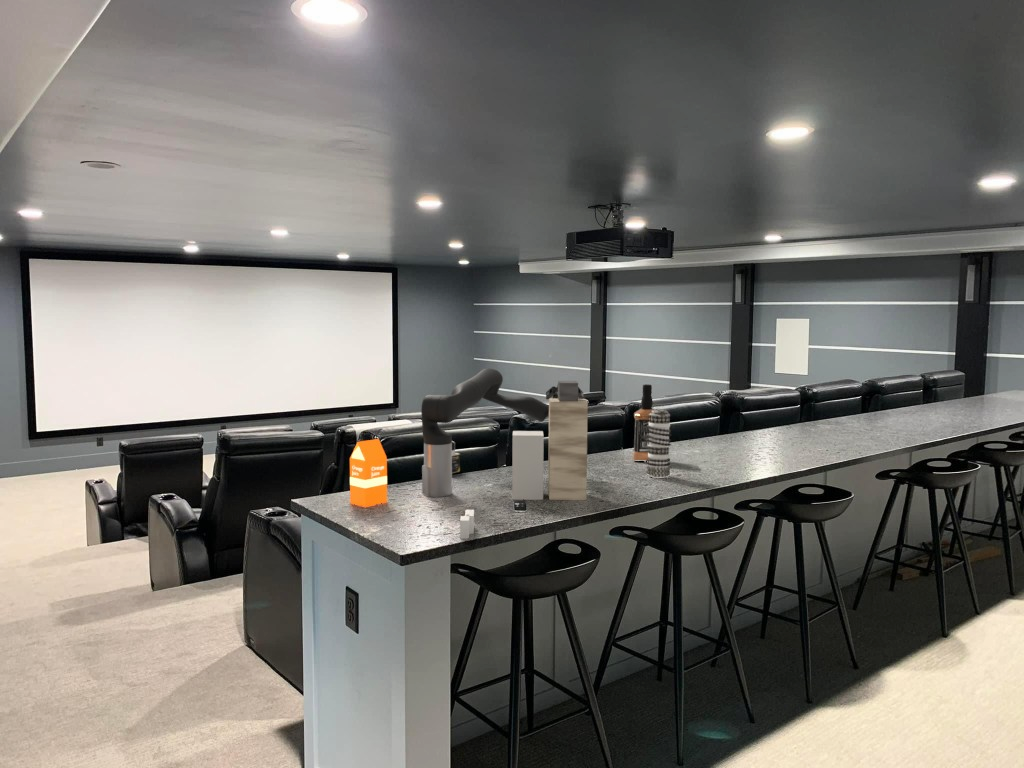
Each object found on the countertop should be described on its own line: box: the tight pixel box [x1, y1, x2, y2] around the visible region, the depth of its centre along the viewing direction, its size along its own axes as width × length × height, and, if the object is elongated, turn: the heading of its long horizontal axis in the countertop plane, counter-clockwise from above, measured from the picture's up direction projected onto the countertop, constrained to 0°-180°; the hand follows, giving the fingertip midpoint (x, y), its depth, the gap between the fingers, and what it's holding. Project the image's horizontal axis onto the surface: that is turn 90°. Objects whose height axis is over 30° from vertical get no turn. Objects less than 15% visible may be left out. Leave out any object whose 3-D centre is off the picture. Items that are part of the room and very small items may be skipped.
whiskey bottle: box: [632, 384, 654, 461], centre depth 307 cm, size 10×10×32 cm
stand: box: [547, 398, 589, 501], centre depth 241 cm, size 10×12×32 cm
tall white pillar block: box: [511, 430, 545, 501], centre depth 241 cm, size 10×10×21 cm
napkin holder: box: [459, 509, 475, 540], centre depth 199 cm, size 15×11×6 cm
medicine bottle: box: [452, 440, 461, 474], centre depth 281 cm, size 7×7×12 cm
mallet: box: [557, 380, 579, 401], centre depth 245 cm, size 19×6×6 cm, turn 179°
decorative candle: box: [646, 409, 672, 477], centre depth 274 cm, size 9×9×25 cm
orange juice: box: [349, 438, 388, 508], centre depth 231 cm, size 8×9×20 cm
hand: (566, 384), depth 249 cm, fingers closed on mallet, 3 cm apart
